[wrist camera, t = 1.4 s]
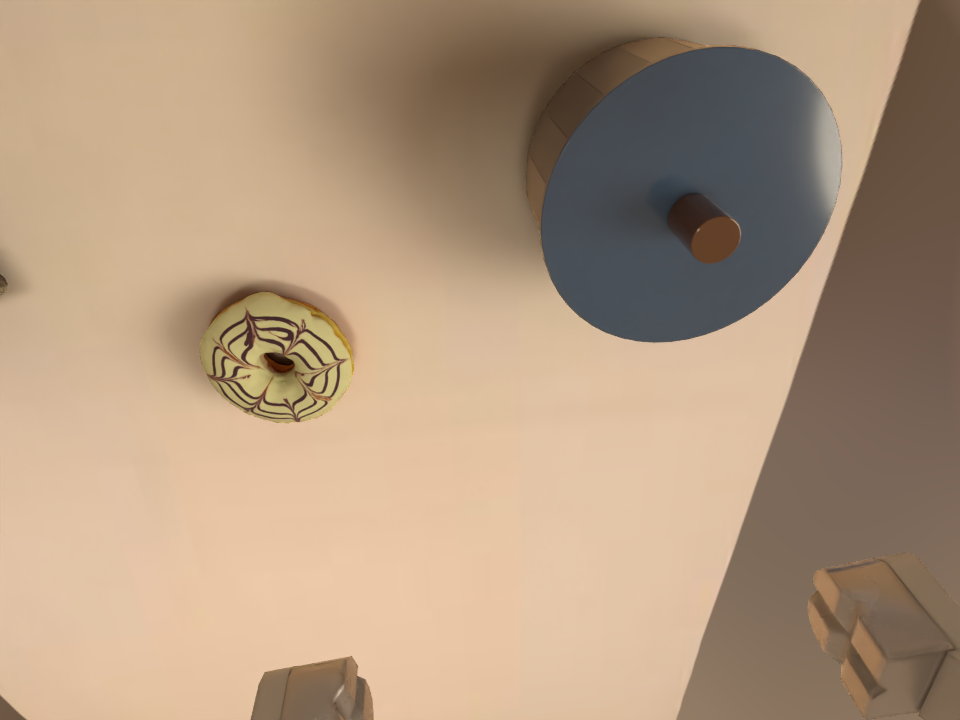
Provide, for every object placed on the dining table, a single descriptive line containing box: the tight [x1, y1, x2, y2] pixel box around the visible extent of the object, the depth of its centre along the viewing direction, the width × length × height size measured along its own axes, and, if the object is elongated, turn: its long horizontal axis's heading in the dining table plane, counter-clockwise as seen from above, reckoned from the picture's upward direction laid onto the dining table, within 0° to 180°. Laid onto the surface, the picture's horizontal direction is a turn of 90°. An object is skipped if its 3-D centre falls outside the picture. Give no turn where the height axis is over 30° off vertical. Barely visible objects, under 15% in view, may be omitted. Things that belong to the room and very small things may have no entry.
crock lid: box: [539, 45, 842, 342], centre depth 32 cm, size 17×17×5 cm
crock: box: [526, 37, 706, 232], centre depth 37 cm, size 16×16×8 cm
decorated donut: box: [200, 292, 354, 423], centre depth 44 cm, size 10×11×4 cm
